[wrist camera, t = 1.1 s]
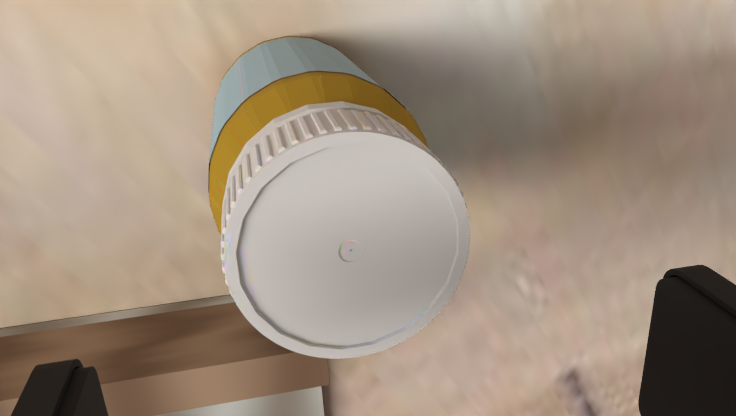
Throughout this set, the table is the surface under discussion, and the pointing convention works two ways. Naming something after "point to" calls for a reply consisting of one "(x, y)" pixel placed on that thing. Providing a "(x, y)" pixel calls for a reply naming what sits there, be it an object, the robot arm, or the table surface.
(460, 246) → the bottle
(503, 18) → the table surface
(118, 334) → the u rest
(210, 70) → the table surface
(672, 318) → the robot arm
